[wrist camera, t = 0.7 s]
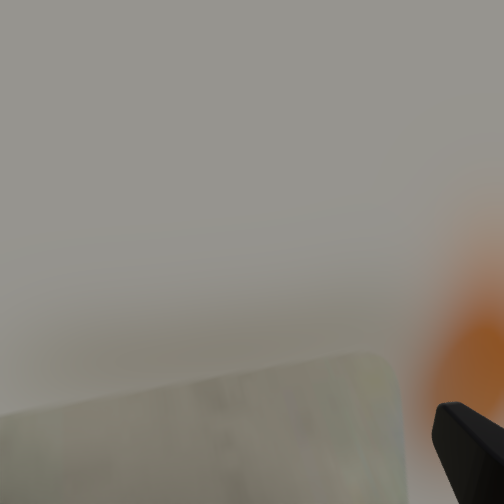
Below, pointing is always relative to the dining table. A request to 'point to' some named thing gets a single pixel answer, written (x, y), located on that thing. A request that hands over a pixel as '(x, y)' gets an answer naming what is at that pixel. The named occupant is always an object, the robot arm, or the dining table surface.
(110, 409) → the dining table surface
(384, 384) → the dining table surface
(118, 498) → the dining table surface
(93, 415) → the dining table surface
